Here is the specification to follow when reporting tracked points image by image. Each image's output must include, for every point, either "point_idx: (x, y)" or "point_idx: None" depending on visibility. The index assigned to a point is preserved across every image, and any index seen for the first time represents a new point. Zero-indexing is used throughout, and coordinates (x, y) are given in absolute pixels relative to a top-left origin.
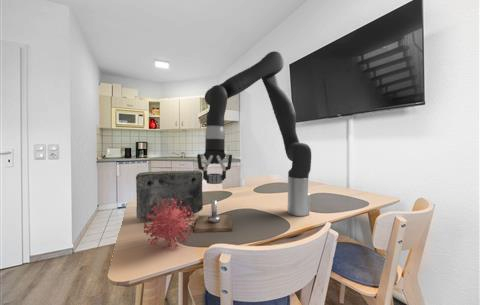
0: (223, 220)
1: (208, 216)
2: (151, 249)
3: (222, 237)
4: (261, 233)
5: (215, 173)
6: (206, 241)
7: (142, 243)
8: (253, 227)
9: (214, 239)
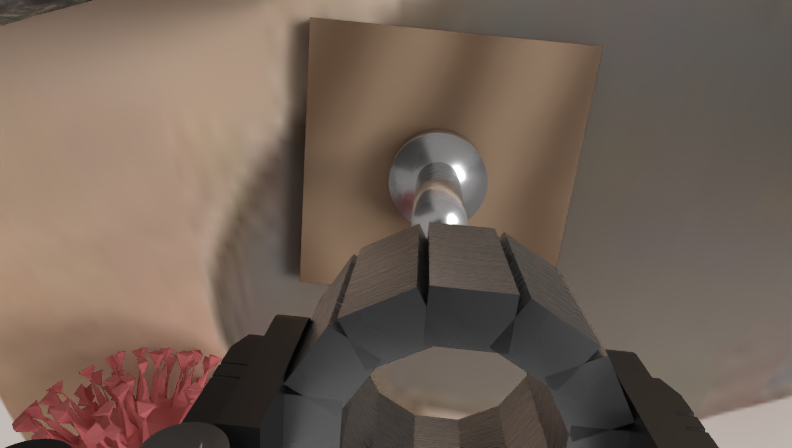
0: (512, 172)
1: (392, 167)
2: None
3: (468, 364)
4: (711, 361)
5: (491, 294)
6: (379, 388)
7: (66, 349)
8: (702, 272)
9: (421, 377)
